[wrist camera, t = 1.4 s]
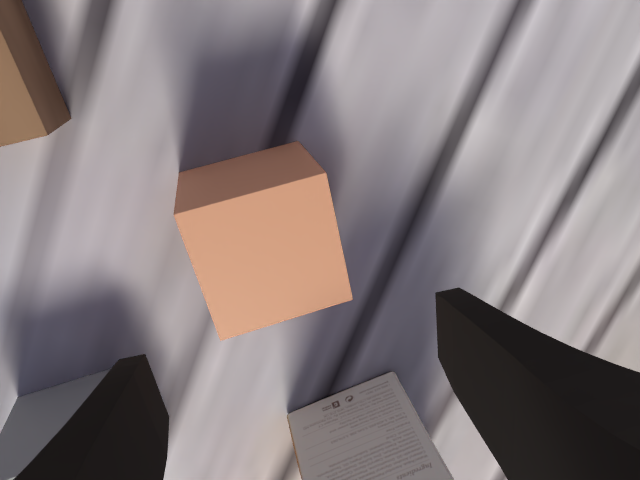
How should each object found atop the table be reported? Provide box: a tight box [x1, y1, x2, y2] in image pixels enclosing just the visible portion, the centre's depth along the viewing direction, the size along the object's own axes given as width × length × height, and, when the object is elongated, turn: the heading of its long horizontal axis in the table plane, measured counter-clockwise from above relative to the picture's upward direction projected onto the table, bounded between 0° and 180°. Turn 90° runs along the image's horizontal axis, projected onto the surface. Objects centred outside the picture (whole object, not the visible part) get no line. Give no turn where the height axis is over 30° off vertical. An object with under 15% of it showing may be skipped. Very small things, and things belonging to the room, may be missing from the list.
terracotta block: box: [174, 141, 353, 341], centre depth 19 cm, size 5×5×5 cm
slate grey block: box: [0, 369, 111, 480], centre depth 21 cm, size 5×5×5 cm
